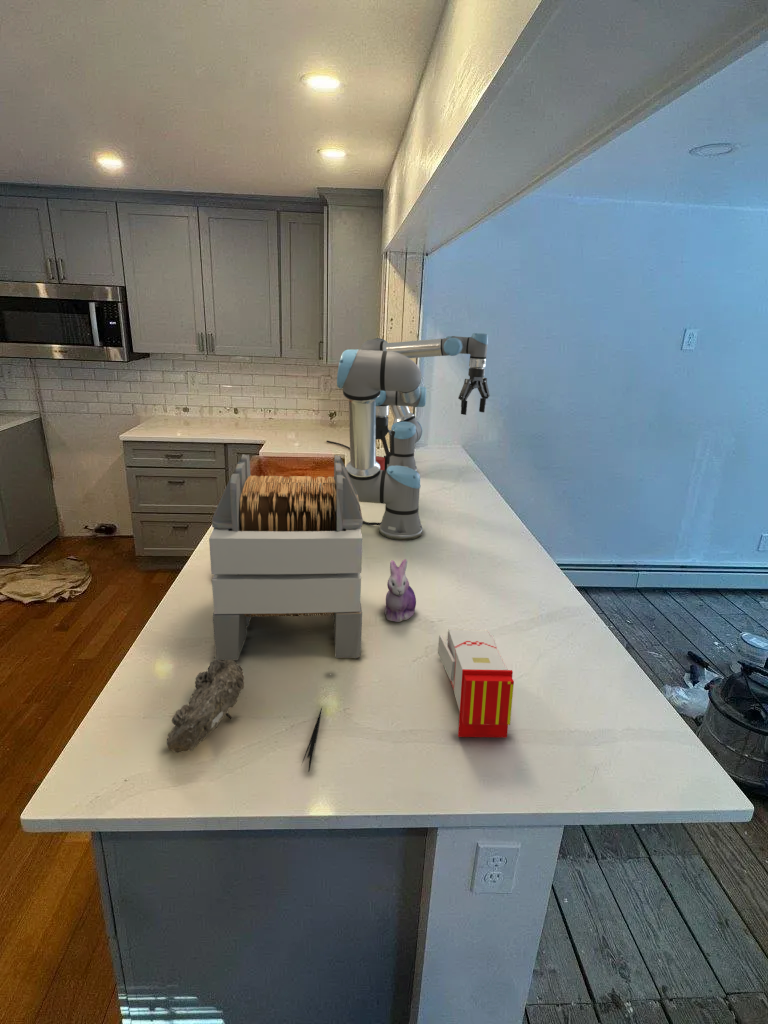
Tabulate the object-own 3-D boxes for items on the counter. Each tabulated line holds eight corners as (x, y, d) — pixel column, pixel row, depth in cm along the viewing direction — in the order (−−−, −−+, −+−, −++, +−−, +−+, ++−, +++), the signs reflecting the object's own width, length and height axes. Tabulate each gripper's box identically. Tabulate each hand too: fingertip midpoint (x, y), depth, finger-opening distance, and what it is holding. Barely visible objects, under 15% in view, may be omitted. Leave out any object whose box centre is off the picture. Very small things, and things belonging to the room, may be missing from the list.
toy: (488, 613, 130) (523, 677, 101) (484, 667, 133) (517, 744, 104) (435, 612, 130) (455, 676, 101) (432, 666, 133) (451, 743, 103)
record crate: (234, 590, 156) (226, 444, 142) (353, 588, 159) (357, 447, 146) (212, 662, 124) (200, 485, 110) (361, 659, 128) (367, 486, 114)
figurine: (392, 627, 141) (395, 572, 136) (374, 608, 149) (376, 556, 144) (425, 619, 145) (429, 566, 140) (405, 601, 154) (408, 550, 149)
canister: (374, 483, 227) (375, 460, 224) (365, 479, 232) (366, 457, 229) (387, 481, 231) (388, 459, 228) (378, 477, 236) (379, 455, 233)
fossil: (192, 660, 117) (244, 628, 112) (224, 691, 120) (276, 661, 115) (142, 746, 98) (202, 712, 93) (182, 779, 101) (242, 748, 96)
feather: (331, 679, 122) (336, 673, 122) (307, 777, 96) (313, 769, 95) (324, 675, 122) (329, 669, 121) (298, 772, 95) (304, 764, 95)
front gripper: (399, 413, 229) (396, 469, 237) (352, 414, 223) (351, 470, 231) (405, 417, 222) (402, 474, 230) (357, 417, 217) (355, 475, 224)
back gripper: (465, 369, 254) (461, 416, 261) (499, 367, 270) (495, 412, 277) (453, 367, 259) (449, 414, 266) (487, 366, 275) (482, 409, 282)
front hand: (376, 472), depth 230 cm, fingers closed on canister, 6 cm apart
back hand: (472, 413), depth 272 cm, fingers open, 13 cm apart
